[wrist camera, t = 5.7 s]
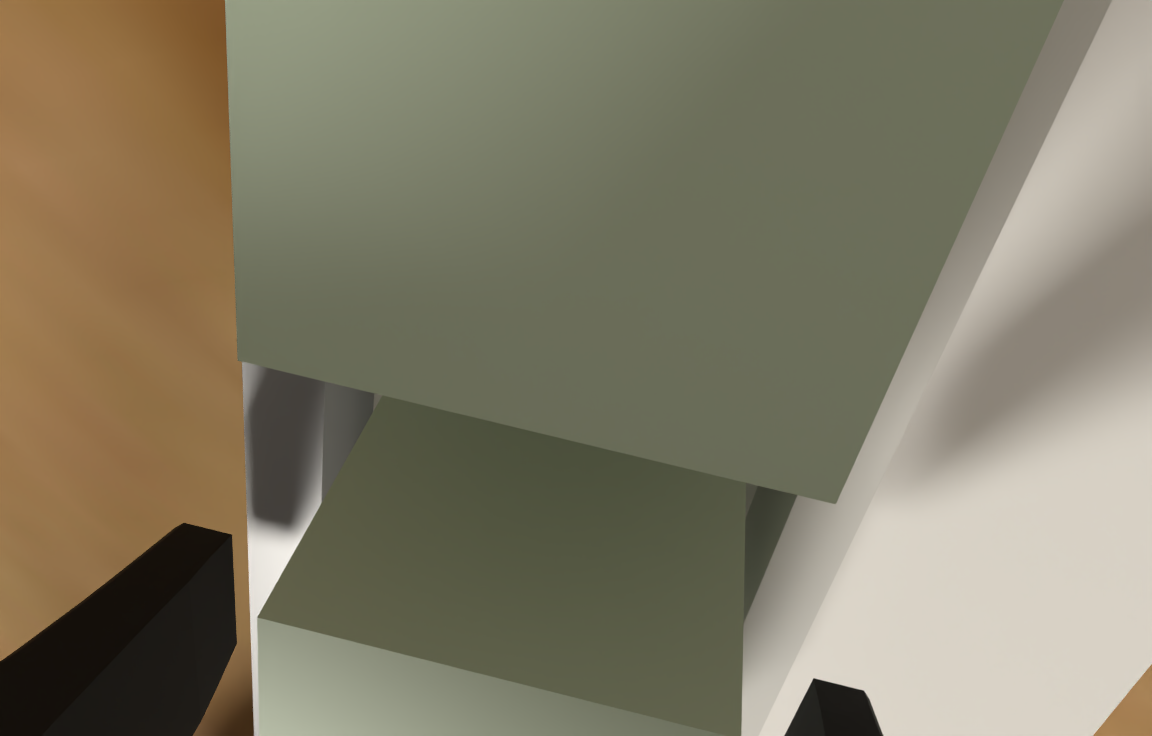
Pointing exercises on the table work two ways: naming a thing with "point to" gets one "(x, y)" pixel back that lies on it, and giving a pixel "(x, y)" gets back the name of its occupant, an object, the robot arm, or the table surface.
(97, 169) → the table surface
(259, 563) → the rail
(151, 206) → the table surface
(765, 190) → the faced carton
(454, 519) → the carton
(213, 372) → the table surface
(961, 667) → the shelf board
